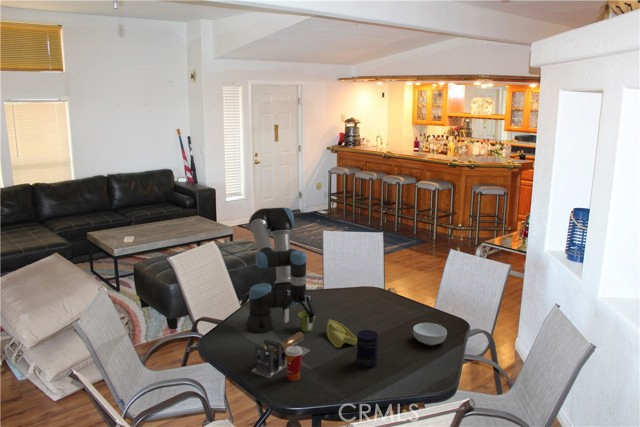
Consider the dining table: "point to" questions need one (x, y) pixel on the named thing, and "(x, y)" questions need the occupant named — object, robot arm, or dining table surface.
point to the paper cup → (293, 362)
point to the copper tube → (289, 342)
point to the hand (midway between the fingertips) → (297, 325)
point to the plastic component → (339, 334)
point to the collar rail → (271, 359)
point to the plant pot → (304, 321)
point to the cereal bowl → (429, 333)
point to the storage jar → (367, 349)
